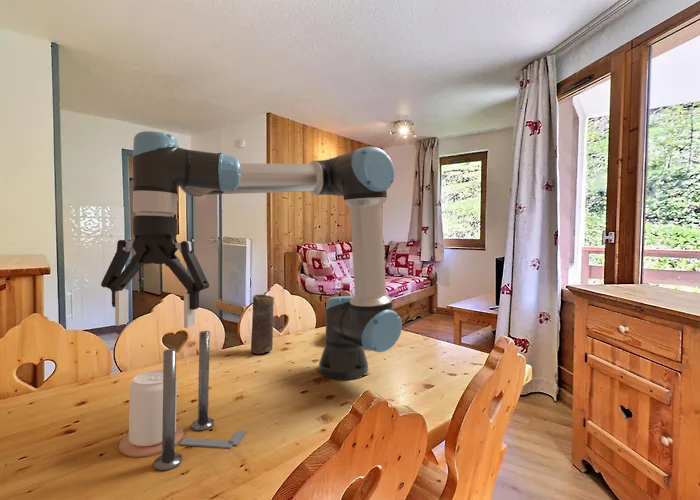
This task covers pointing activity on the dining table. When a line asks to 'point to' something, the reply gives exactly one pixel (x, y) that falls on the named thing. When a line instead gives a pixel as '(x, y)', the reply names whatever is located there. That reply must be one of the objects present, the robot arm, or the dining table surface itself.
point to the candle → (262, 324)
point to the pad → (145, 451)
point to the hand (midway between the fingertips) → (155, 325)
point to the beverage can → (147, 408)
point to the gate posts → (169, 396)
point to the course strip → (215, 441)
